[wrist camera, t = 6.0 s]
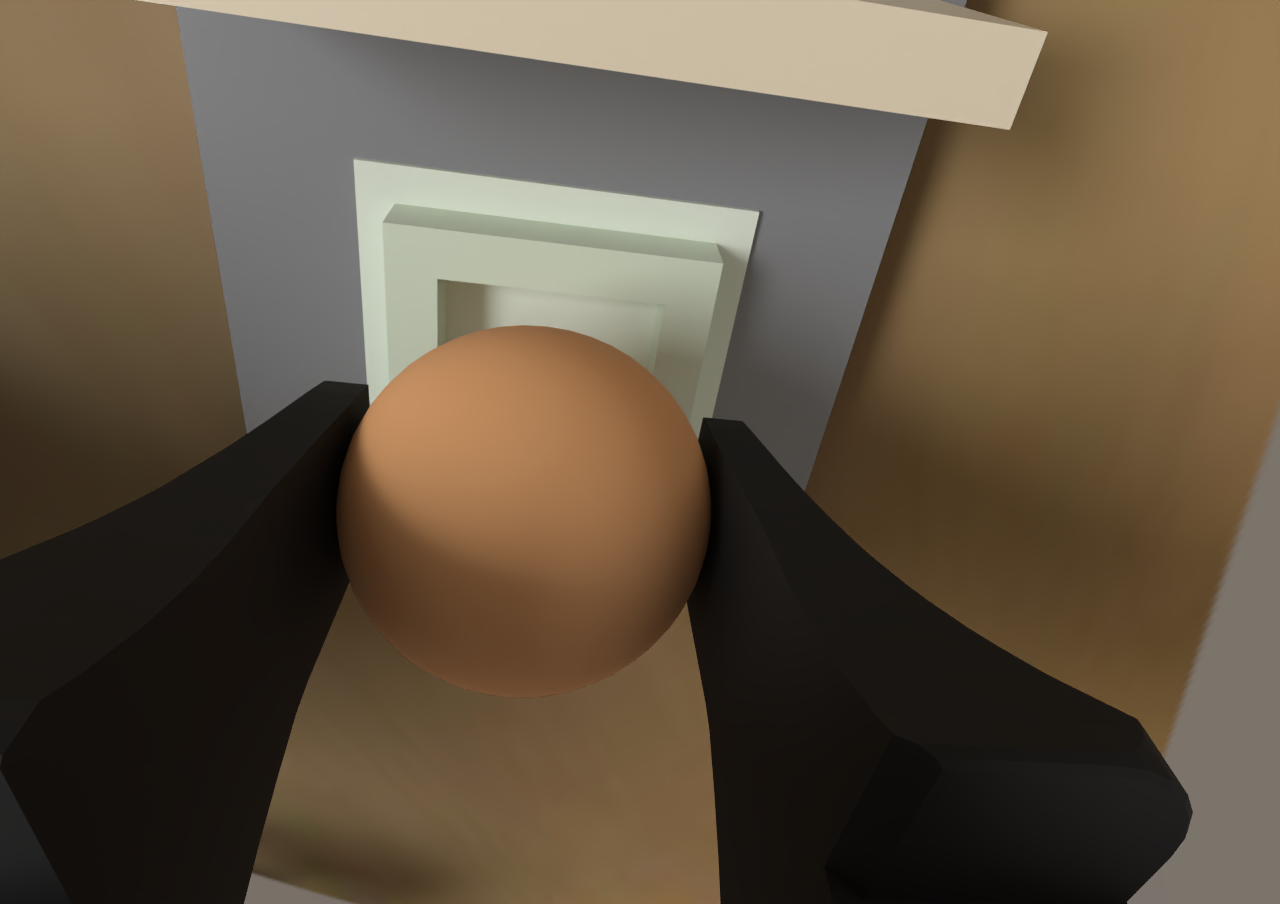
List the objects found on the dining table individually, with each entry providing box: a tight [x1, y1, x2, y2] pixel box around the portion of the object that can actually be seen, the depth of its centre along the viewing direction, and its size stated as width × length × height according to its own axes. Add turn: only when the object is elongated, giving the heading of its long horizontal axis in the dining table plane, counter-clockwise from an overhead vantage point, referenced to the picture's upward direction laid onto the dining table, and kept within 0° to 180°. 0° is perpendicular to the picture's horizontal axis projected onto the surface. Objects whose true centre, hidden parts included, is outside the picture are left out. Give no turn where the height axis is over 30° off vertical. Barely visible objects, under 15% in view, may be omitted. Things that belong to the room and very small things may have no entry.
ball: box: [336, 325, 711, 698], centre depth 11 cm, size 5×5×5 cm
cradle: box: [353, 158, 759, 439], centre depth 14 cm, size 6×6×1 cm
